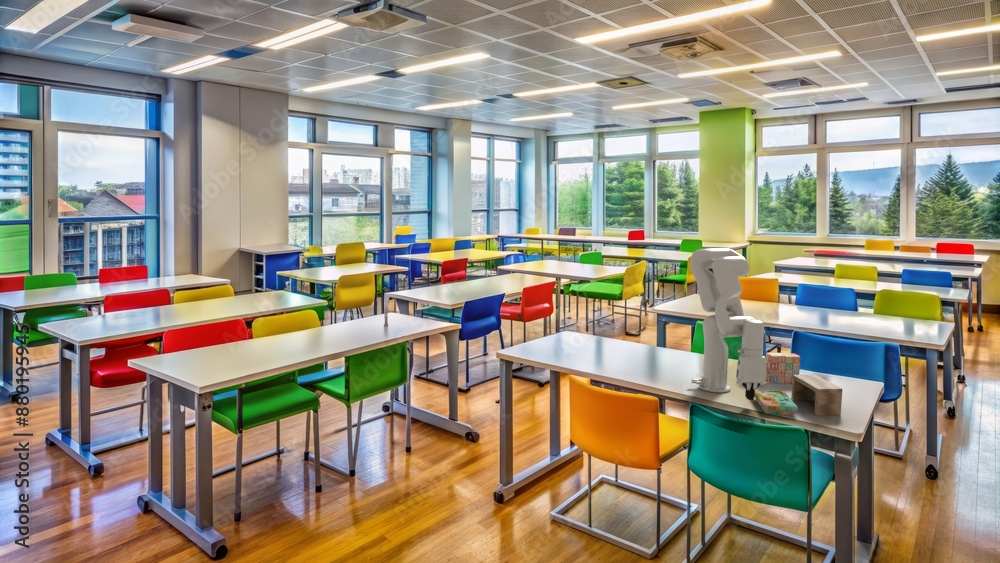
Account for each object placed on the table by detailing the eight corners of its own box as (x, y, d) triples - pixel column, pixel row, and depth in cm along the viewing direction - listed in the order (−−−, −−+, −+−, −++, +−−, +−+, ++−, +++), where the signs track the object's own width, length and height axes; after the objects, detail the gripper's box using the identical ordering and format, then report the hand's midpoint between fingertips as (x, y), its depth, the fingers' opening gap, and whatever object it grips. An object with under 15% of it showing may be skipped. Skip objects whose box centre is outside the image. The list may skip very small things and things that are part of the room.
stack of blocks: (748, 382, 263) (749, 355, 262) (743, 378, 270) (745, 352, 268) (799, 383, 262) (800, 356, 260) (793, 379, 268) (794, 352, 267)
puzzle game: (763, 403, 222) (752, 387, 241) (762, 415, 223) (752, 398, 242) (797, 405, 220) (784, 389, 239) (797, 417, 220) (783, 400, 240)
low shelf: (816, 415, 222) (818, 389, 220) (791, 399, 240) (792, 374, 239) (840, 415, 222) (842, 388, 220) (813, 399, 240) (815, 374, 239)
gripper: (736, 354, 225) (734, 402, 227) (776, 354, 224) (773, 402, 227) (728, 350, 232) (726, 396, 234) (767, 350, 232) (765, 396, 234)
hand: (749, 399), depth 230 cm, fingers closed
